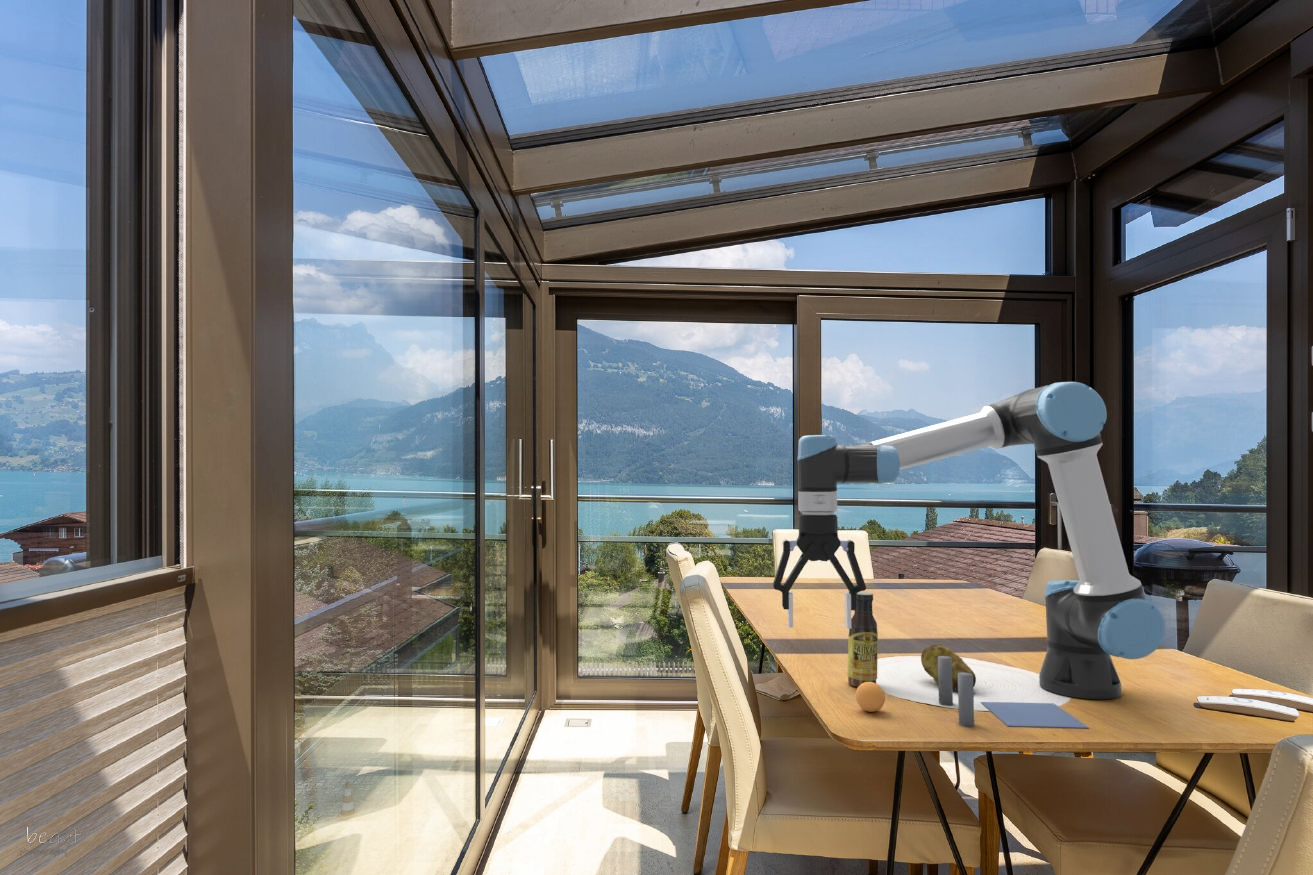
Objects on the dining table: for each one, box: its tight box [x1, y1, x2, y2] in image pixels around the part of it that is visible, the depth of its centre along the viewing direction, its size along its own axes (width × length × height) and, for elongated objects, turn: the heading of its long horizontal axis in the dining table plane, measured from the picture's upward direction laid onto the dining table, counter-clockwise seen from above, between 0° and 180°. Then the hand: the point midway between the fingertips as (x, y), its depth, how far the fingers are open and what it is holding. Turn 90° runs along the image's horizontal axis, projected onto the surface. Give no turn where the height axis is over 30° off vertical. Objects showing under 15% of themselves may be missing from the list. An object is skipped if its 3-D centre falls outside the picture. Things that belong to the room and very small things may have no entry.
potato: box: [920, 644, 977, 691], centre depth 159 cm, size 8×13×8 cm, turn 4°
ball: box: [855, 682, 886, 713], centre depth 142 cm, size 6×6×6 cm
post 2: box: [957, 672, 975, 728], centre depth 135 cm, size 3×3×9 cm
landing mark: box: [980, 701, 1089, 729], centre depth 140 cm, size 14×14×1 cm
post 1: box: [937, 656, 954, 706], centre depth 147 cm, size 3×3×9 cm
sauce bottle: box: [847, 591, 879, 688], centre depth 160 cm, size 6×6×20 cm
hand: (819, 626), depth 144 cm, fingers open, 10 cm apart
